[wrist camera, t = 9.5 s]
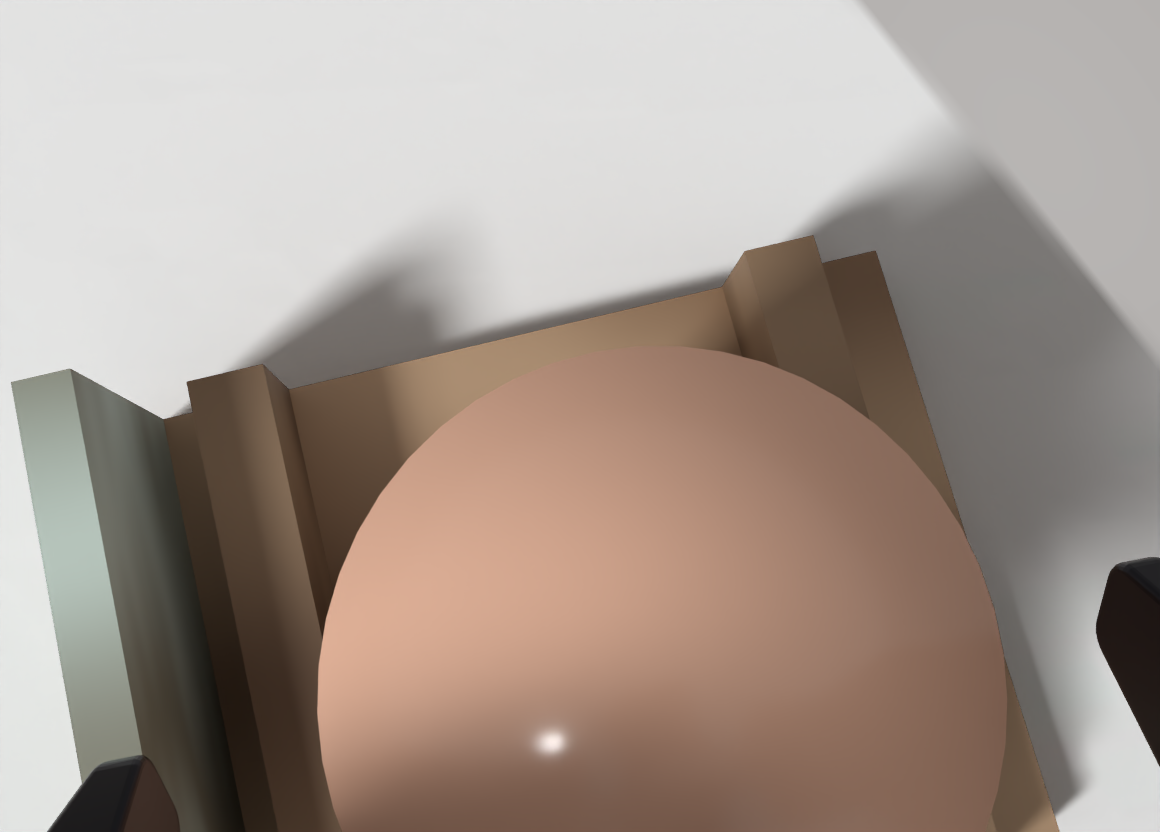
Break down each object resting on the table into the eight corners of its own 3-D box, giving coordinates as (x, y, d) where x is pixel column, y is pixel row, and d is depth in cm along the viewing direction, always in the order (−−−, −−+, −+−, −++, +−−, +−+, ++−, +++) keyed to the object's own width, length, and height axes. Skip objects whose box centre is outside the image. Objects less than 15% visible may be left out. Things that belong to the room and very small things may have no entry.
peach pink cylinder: (766, 800, 18) (1057, 1019, 8) (432, 831, 18) (331, 1099, 8) (731, 471, 19) (955, 325, 9) (414, 494, 19) (304, 366, 9)
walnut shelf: (1033, 837, 20) (1214, 917, 14) (262, 1068, 18) (164, 1246, 13) (856, 270, 21) (962, 162, 16) (140, 440, 20) (10, 382, 15)
